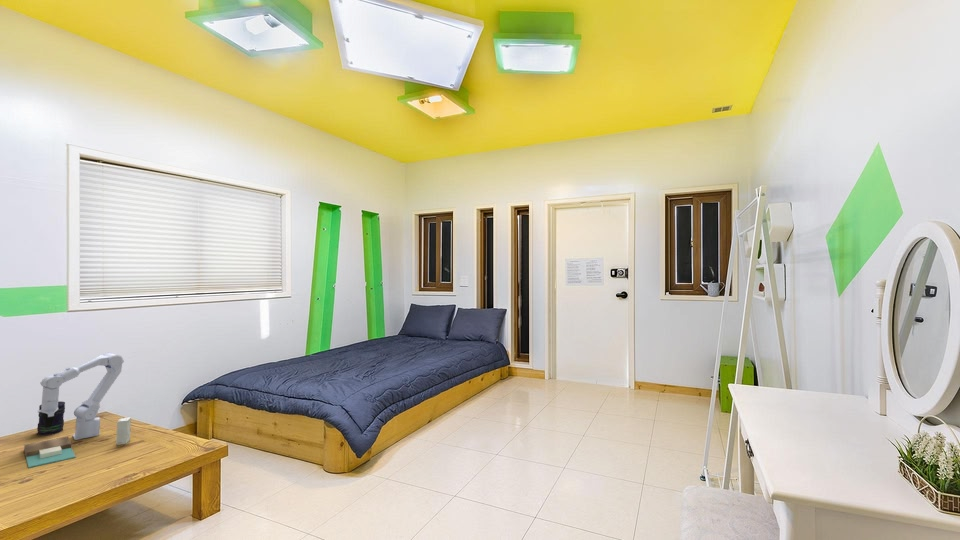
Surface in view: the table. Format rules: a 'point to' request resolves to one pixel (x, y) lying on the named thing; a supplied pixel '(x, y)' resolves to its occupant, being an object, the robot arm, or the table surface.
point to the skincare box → (123, 430)
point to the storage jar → (57, 422)
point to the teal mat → (50, 458)
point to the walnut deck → (46, 445)
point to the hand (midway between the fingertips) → (48, 427)
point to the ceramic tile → (50, 452)
